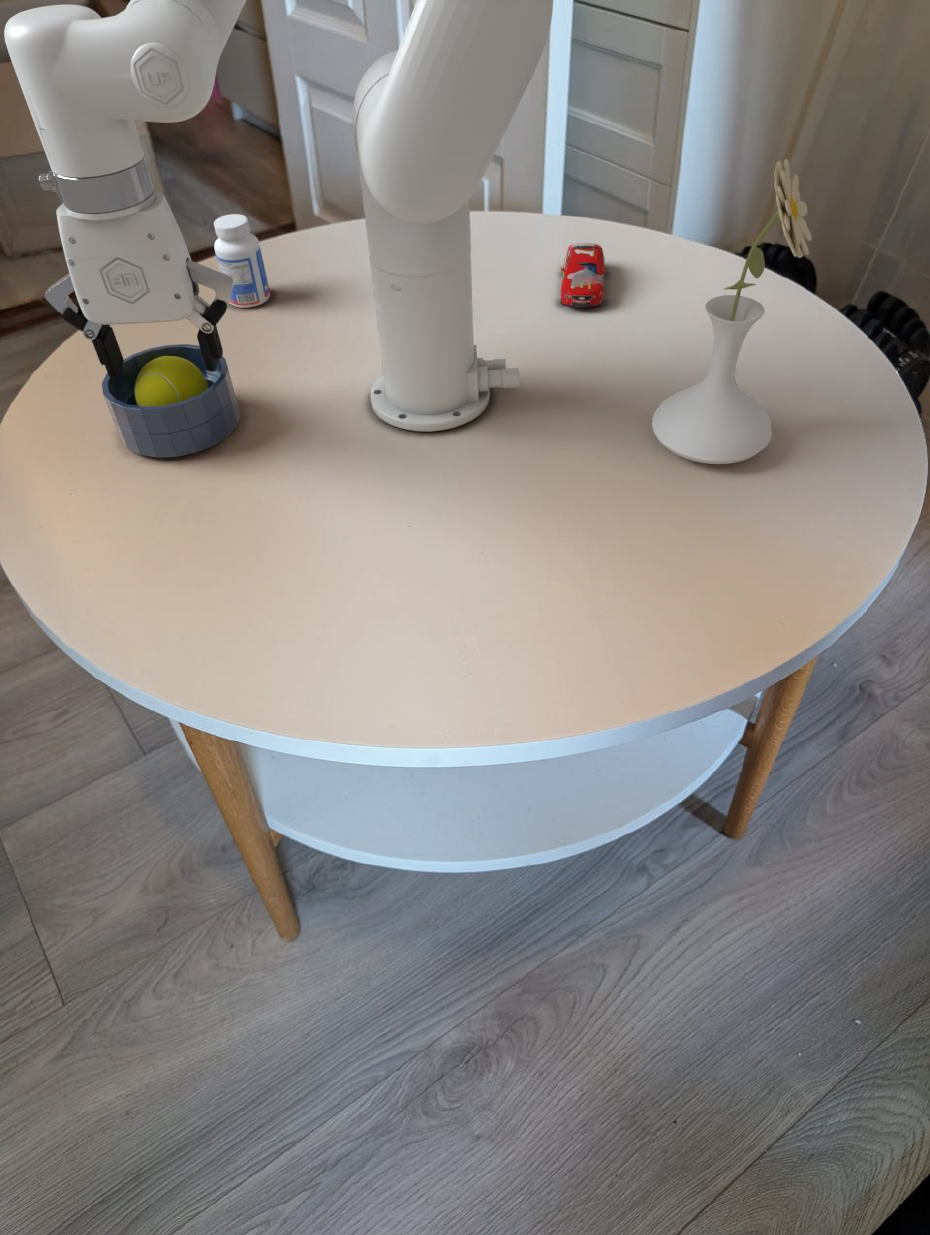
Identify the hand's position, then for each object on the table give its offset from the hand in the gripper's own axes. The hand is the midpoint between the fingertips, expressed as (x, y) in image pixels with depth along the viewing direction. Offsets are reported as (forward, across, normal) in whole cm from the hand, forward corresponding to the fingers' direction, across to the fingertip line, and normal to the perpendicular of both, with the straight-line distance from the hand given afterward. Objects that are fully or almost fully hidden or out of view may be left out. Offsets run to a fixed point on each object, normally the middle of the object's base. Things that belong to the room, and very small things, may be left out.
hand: (165, 367), depth 86 cm
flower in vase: (+8, +54, -6) cm, 55 cm away
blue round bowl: (+7, 0, 0) cm, 7 cm away
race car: (+8, +45, +27) cm, 53 cm away
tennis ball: (+7, 0, 0) cm, 7 cm away
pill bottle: (+7, +3, +28) cm, 29 cm away
